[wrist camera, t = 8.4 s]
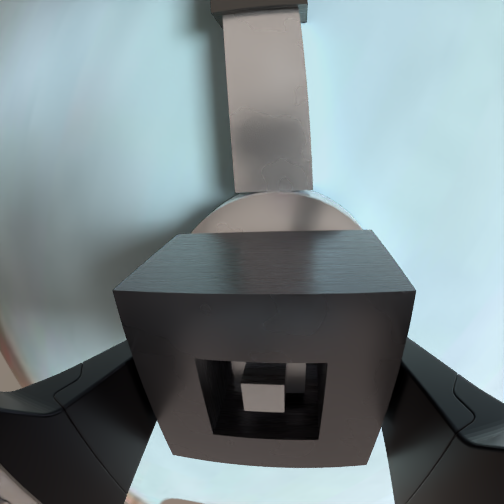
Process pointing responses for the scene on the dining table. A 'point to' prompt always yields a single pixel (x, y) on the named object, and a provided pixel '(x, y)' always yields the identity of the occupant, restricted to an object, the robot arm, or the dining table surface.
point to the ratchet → (269, 156)
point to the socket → (269, 341)
